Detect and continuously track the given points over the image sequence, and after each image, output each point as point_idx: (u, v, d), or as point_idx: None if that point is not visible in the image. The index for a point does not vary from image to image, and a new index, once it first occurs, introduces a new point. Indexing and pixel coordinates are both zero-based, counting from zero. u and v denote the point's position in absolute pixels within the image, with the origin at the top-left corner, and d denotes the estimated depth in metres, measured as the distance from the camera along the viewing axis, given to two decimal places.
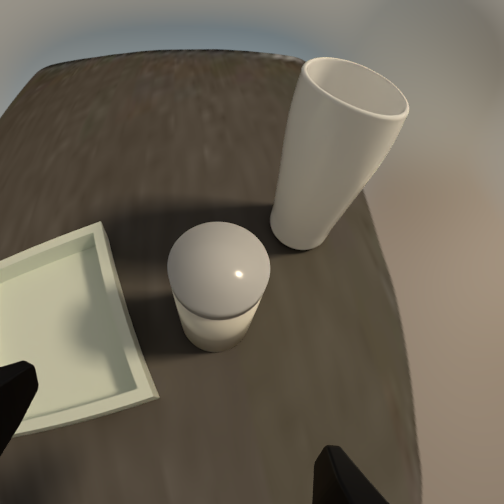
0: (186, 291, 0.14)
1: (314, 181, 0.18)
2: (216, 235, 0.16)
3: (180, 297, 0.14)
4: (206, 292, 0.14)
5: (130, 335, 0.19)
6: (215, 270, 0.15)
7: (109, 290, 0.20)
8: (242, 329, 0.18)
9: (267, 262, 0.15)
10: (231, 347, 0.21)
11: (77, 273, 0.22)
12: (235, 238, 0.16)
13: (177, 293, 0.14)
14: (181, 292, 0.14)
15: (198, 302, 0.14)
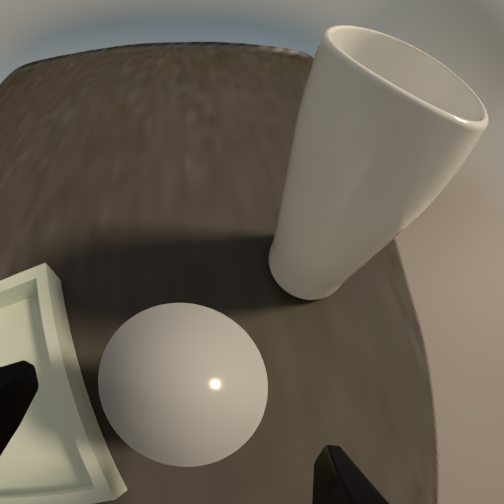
0: (129, 428, 0.07)
1: (339, 221, 0.12)
2: (176, 329, 0.09)
3: (120, 436, 0.07)
4: (161, 432, 0.07)
5: (81, 423, 0.12)
6: (175, 394, 0.08)
7: (54, 361, 0.13)
8: None
9: (263, 378, 0.09)
10: None
11: (23, 327, 0.15)
12: (209, 335, 0.09)
13: (115, 429, 0.07)
14: (121, 429, 0.07)
15: (149, 447, 0.07)
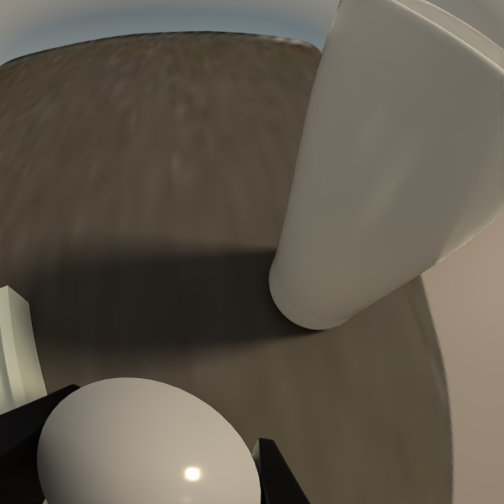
0: None
1: (368, 250, 0.08)
2: (129, 416, 0.05)
3: None
4: None
5: None
6: (133, 500, 0.04)
7: (18, 402, 0.10)
8: None
9: (254, 484, 0.05)
10: None
11: None
12: (175, 426, 0.05)
13: None
14: None
15: None
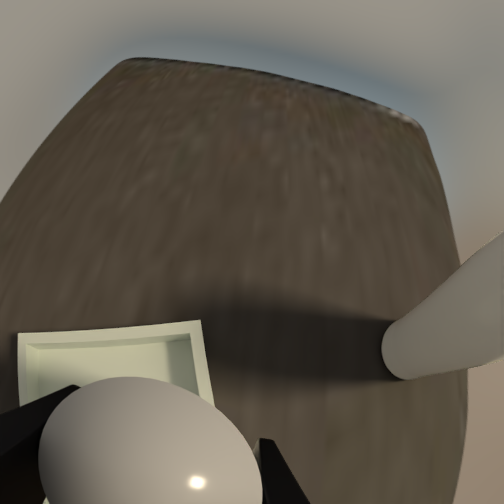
0: None
1: (462, 356, 0.14)
2: (131, 415, 0.05)
3: None
4: None
5: None
6: (134, 499, 0.04)
7: None
8: None
9: (256, 483, 0.05)
10: None
11: (159, 368, 0.20)
12: (177, 425, 0.05)
13: None
14: None
15: None
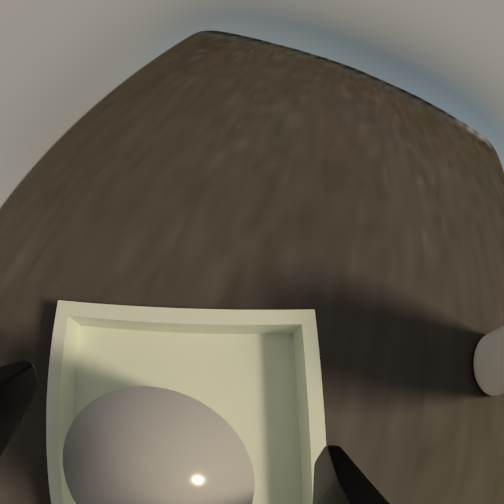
0: None
1: None
2: (144, 418, 0.07)
3: None
4: None
5: None
6: (147, 489, 0.06)
7: (313, 424, 0.13)
8: None
9: (249, 474, 0.06)
10: None
11: (250, 367, 0.16)
12: (183, 426, 0.07)
13: None
14: None
15: None
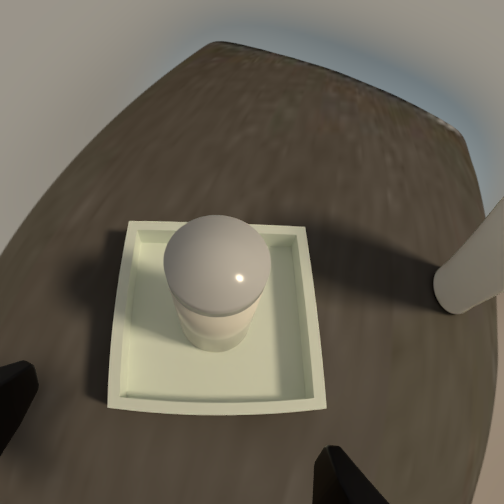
0: (183, 287, 0.14)
1: (501, 266, 0.18)
2: (214, 229, 0.15)
3: (177, 293, 0.13)
4: (204, 288, 0.14)
5: (320, 346, 0.20)
6: (213, 264, 0.14)
7: (307, 297, 0.22)
8: (243, 327, 0.18)
9: (267, 255, 0.15)
10: (232, 347, 0.21)
11: None
12: (233, 231, 0.15)
13: (174, 289, 0.13)
14: (178, 288, 0.13)
15: (196, 298, 0.13)
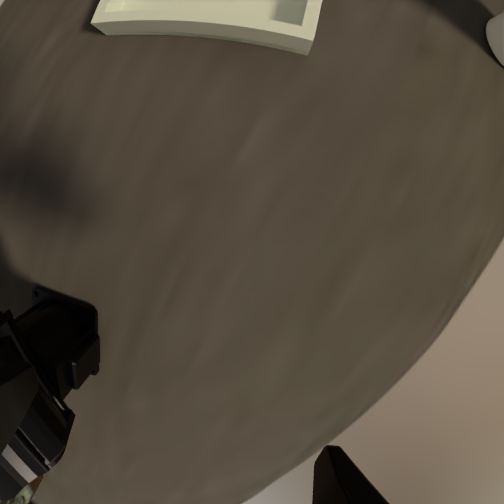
0: None
1: None
2: None
3: None
4: None
5: None
6: None
7: None
8: None
9: None
10: None
11: None
12: None
13: None
14: None
15: None
